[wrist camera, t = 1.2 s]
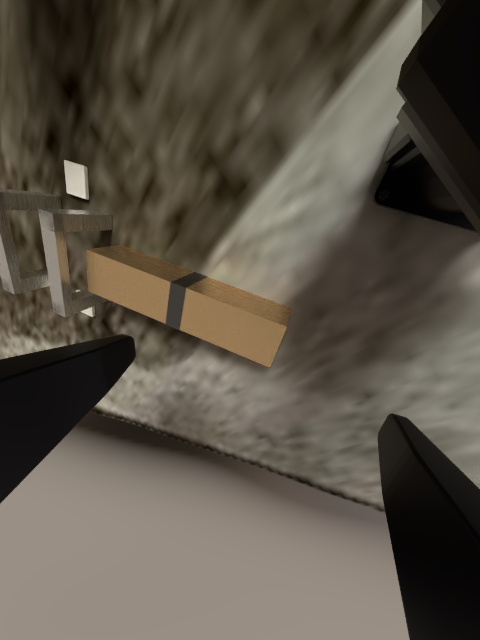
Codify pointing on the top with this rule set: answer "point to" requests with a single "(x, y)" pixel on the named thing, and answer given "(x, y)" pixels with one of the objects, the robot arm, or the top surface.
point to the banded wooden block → (189, 301)
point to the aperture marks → (78, 194)
